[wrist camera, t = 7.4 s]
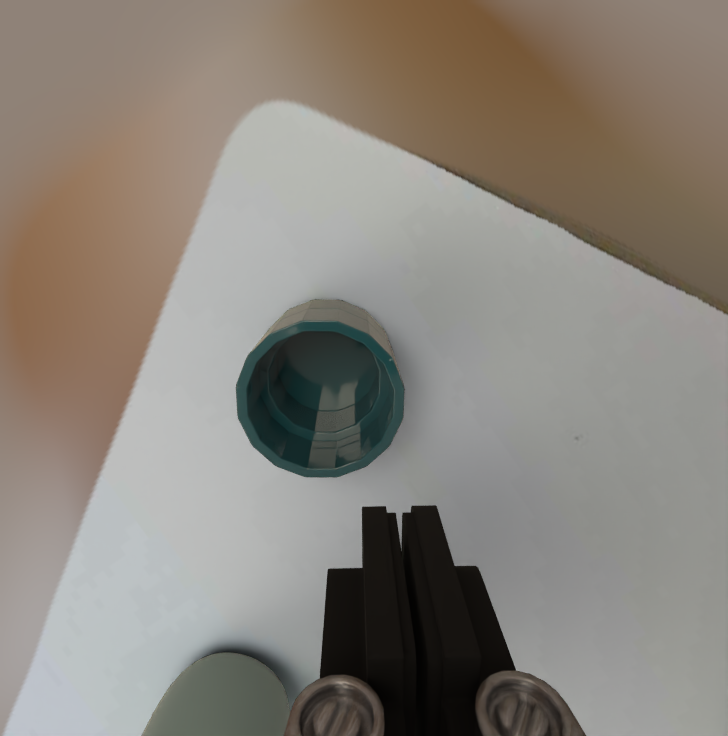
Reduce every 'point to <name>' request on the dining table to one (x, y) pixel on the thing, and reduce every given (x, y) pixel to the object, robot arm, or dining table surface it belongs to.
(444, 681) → the robot arm
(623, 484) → the dining table surface
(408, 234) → the dining table surface
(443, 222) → the dining table surface
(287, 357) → the teal hollow faceted cylinder
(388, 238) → the dining table surface
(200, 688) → the cup
